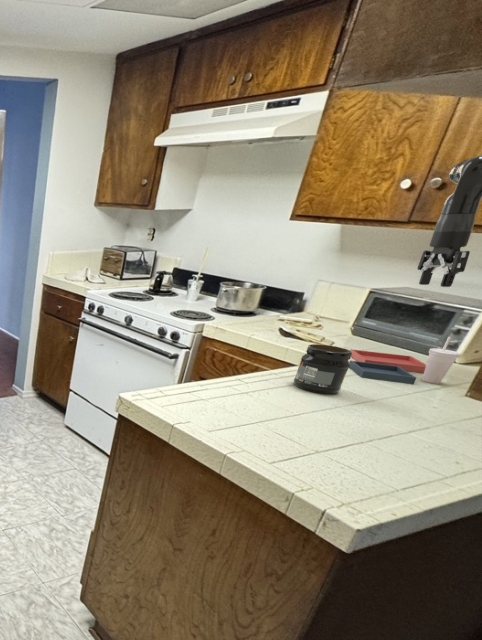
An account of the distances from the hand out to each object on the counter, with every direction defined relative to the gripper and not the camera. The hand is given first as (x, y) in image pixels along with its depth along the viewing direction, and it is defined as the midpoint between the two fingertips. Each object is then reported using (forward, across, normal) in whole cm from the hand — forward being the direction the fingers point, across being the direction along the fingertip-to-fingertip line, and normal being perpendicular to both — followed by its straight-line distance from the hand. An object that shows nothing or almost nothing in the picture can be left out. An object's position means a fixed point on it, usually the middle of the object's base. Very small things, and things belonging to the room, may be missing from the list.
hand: (434, 285), depth 145 cm
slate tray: (+27, -8, +12) cm, 31 cm away
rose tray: (+27, +7, +1) cm, 28 cm away
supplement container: (+28, -29, +38) cm, 56 cm away
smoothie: (+28, -11, 0) cm, 30 cm away
